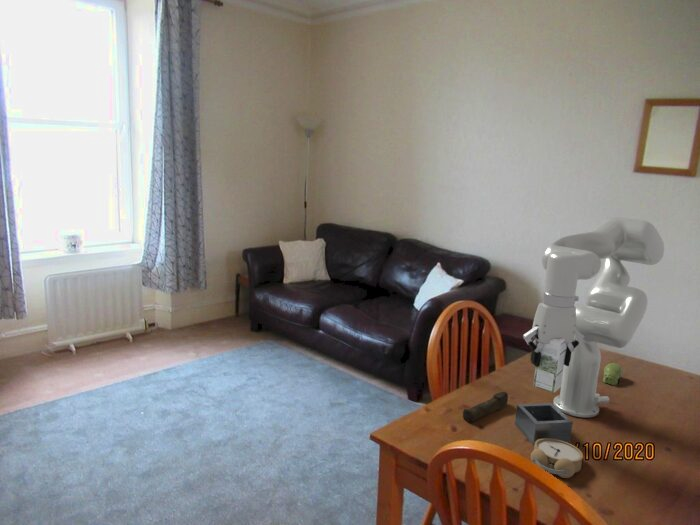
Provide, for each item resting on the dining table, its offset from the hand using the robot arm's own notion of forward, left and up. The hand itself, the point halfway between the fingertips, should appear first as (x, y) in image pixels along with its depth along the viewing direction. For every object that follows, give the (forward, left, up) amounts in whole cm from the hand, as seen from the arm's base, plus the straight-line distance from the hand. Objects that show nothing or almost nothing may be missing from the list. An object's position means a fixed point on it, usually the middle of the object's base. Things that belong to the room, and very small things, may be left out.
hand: (549, 364), depth 136 cm
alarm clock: (+4, +14, -21) cm, 25 cm away
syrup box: (0, 0, -7) cm, 7 cm away
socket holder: (0, 0, -20) cm, 20 cm away
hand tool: (+10, -13, -21) cm, 26 cm away
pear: (-42, -30, -21) cm, 56 cm away
